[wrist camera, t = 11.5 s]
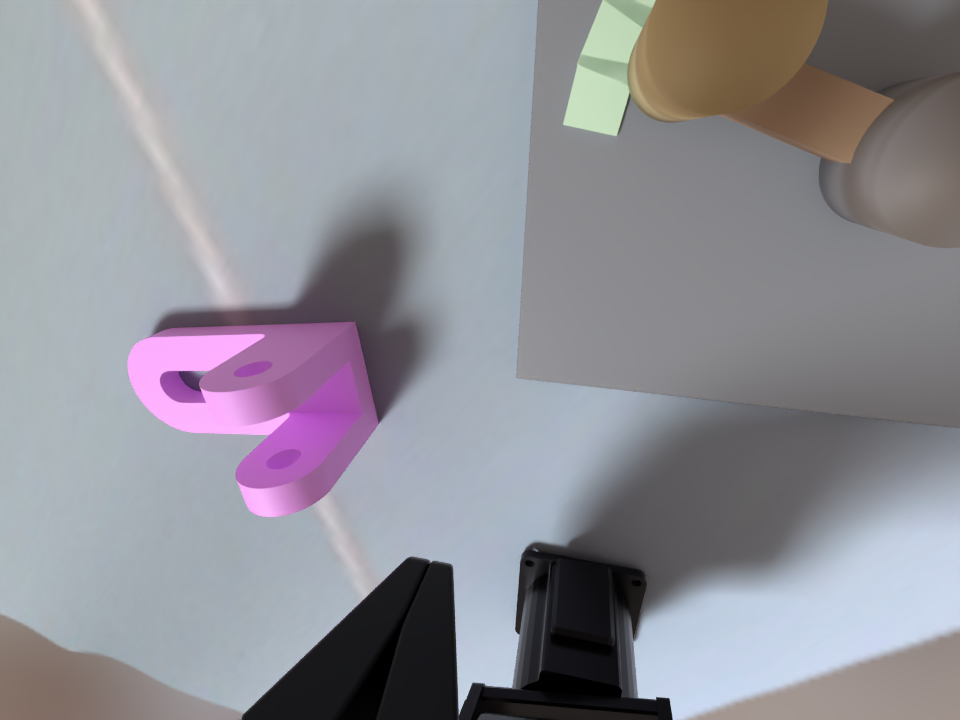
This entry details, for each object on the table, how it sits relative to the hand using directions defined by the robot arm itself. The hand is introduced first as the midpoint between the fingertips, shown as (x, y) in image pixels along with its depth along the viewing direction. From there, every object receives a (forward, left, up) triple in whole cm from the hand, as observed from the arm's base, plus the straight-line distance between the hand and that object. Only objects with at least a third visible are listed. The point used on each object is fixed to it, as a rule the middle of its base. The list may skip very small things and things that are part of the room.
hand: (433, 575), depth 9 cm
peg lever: (+8, -8, -12) cm, 16 cm away
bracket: (-4, +14, -13) cm, 20 cm away
